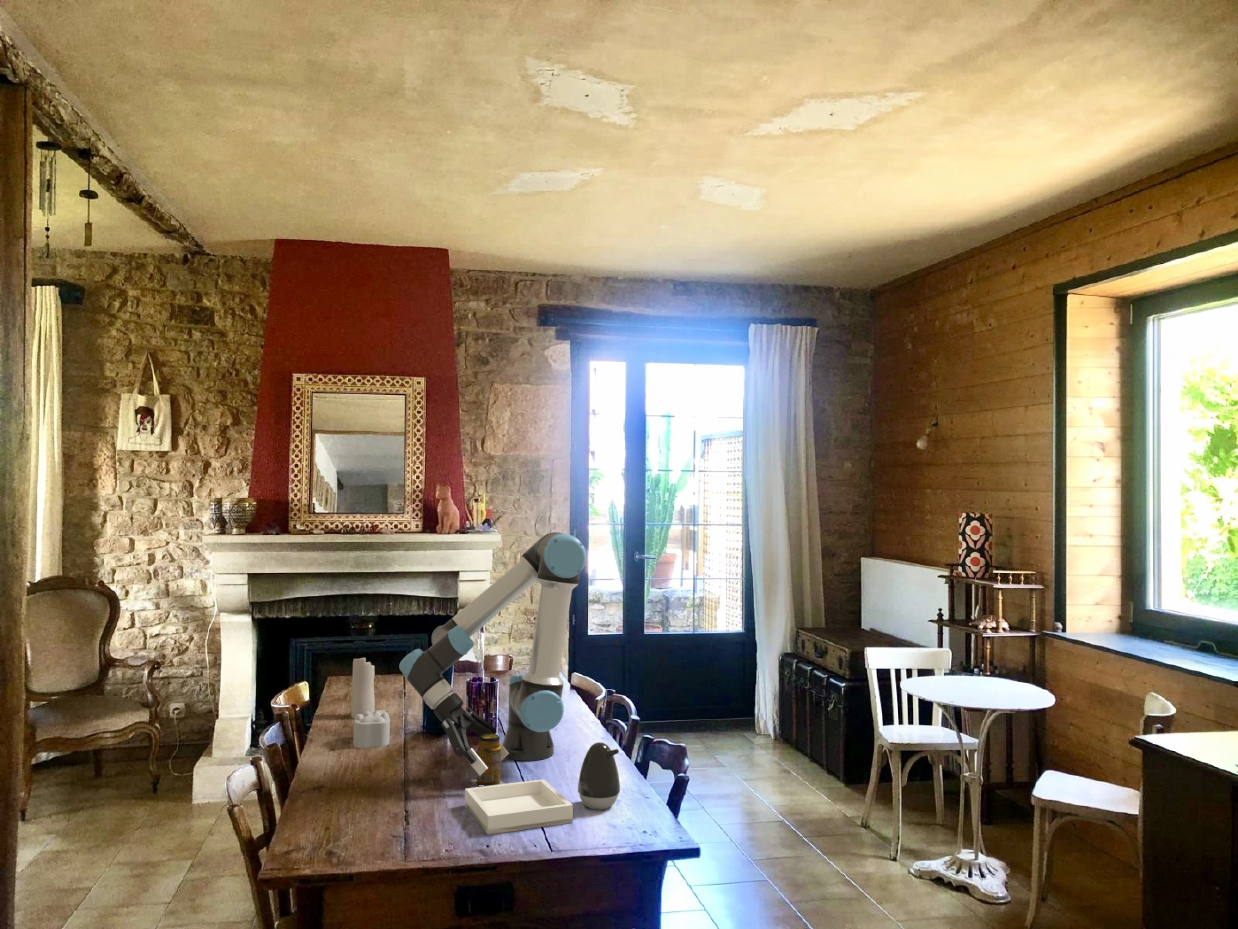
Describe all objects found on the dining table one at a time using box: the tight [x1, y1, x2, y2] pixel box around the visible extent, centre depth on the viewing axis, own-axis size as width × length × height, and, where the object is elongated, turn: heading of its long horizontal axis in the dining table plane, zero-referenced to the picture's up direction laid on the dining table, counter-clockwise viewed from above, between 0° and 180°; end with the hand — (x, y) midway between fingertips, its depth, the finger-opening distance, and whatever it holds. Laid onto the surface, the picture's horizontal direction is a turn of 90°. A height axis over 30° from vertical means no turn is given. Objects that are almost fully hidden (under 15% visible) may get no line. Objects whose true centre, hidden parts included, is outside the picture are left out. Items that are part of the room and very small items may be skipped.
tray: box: [464, 779, 574, 836], centre depth 210 cm, size 20×20×4 cm
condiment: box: [470, 733, 506, 787], centre depth 232 cm, size 7×8×12 cm
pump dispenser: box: [577, 741, 621, 810], centre depth 217 cm, size 10×10×15 cm
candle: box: [350, 657, 386, 719], centre depth 302 cm, size 7×14×20 cm, turn 148°
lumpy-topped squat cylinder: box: [352, 710, 391, 749], centre depth 268 cm, size 10×13×9 cm
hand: (495, 764), depth 231 cm, fingers open, 13 cm apart
